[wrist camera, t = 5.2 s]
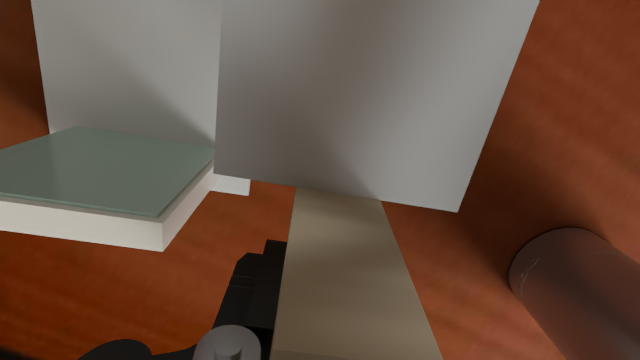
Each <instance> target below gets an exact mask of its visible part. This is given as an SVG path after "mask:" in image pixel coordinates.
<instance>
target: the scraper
mask: <svg viewBox="0 0 640 360" xmlns="http://www.w3.org/2000/svg"><path fill="white" fill-rule="evenodd" d="M539 1H540V0H223V1H222V20H221V38H220V57H219V75H218V94H217V112H216V131H215V149H214V168H213V174H218V175H225V176H231V177H237V178H244V179H250V180H256V181H263V182H269V183H275V184H281V185H288V186H294V187H296V192H295V198H294V204H293V210H292V216H291V222H290V229H289V235H288V241H287V248H286V255H285V261H284V268H283V274H282V281H281V288H280V294H279V301H278V307H277V314H276V320H275V327H274V333H273V339H272V345H271V351H270V357H269V360H443V358H442V355H441V353H440V350H439V348H438V345H437V343H436V340H435V338H434V335H433V333H432V330H431V328H430V325H429V323H428V320H427V318H426V315H425V312H424V310H423V307H422V305H421V302H420V300H419V297H418V295H417V292H416V290H415V287H414V285H413V282H412V280H411V277H410V274H409V272H408V269H407V267H406V264H405V262H404V259H403V257H402V254H401V252H400V249H399V247H398V244H397V242H396V239H395V236H394V234H393V231H392V229H391V226H390V224H389V221H388V219H387V216H386V214H385V211H384V209H383V206H382V204H381V201H380V200H382V201H388V202H395V203H401V204H407V205H414V206H420V207H426V208H432V209H439V210H445V211H451V212H458V210H459V207H460V204H461V202H462V199H463V197H464V194H465V192H466V189H467V186H468V184H469V181H470V179H471V176H472V173H473V171H474V168H475V166H476V163H477V161H478V158H479V155H480V153H481V150H482V148H483V145H484V143H485V140H486V137H487V135H488V132H489V130H490V127H491V124H492V122H493V119H494V117H495V114H496V112H497V109H498V106H499V104H500V101H501V99H502V96H503V93H504V91H505V88H506V86H507V83H508V81H509V78H510V75H511V73H512V70H513V68H514V65H515V63H516V60H517V57H518V55H519V52H520V50H521V47H522V44H523V42H524V39H525V37H526V34H527V32H528V29H529V26H530V24H531V21H532V19H533V16H534V13H535V11H536V8H537V6H538V3H539Z"/></svg>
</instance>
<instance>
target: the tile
mask: <svg viewBox="0 0 640 360" xmlns="http://www.w3.org/2000/svg"><path fill="white" fill-rule="evenodd" d="M214 149H215V148H214V147H208V146H201V145H195V144H189V143H182V142H176V141H170V140H163V139H157V138H151V137H144V136H138V135H132V134H125V133H119V132H113V131H106V130H100V129H94V128H87V127H81V126H74V127H71V128H67V129H64V130H61V131H58V132H55V133H52V134H49V135H45V136H42V137H39V138H36V139H33V140H30V141H26V142H23V143H20V144H17V145H14V146H11V147H7V148H4V149H1V150H0V230H4V231H11V232H19V233H26V234H34V235H41V236H49V237H56V238H63V239H71V240H78V241H86V242H93V243H101V244H108V245H116V246H123V247H131V248H138V249H146V250H153V251H160V252H163V251H164V250H165V248H166V247H167V246H168V244H169V243H170V242H171V240H172V239H173V238H174V237H175V235H176V234H177V233H178V231H179V230H180V229H181V227H182V226H183V225H184V223H185V222H186V221H187V219H188V218H189V217H190V216H191V214H192V213H193V212H194V210H195V209H196V208H197V206H198V205H199V204H200V202H201V201H202V200H203V199H204V197H205V196H206V195H207V193H208V192H209V191H210V189H211V188H212V187H213V185H214V184H215V183H216V182H217V180H218V179H219V178H220V176H221V175H218V174H213V168H214Z"/></svg>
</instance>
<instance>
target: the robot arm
mask: <svg viewBox="0 0 640 360" xmlns="http://www.w3.org/2000/svg"><path fill="white" fill-rule="evenodd" d="M286 248H287V242H283V241H276V240H269V239H267V241H266V245H265V248H264V252H263V255H262V254H255V253H247V254H245V255H244V256H243V257H242V258H241V259H240V260H239V261H237V264H236V266H235V269H234V272H233V275H232V277H231V280H230V282H229V286H228V288H227V290H226V293H225V296H224V298H223V301H222V304H221V306H220V309H219V312H218V314H217V317H216V320H215V323H214V325H213V327H212V329H211V330H210V331H209V332H207V333H206V334H205V335H204V336H203V337H202V338H201V339H200V340H199V342H198V343H197V344H195V345H194V346H192V347H189V348H187V349H184V350H180V351H176V352H170V353H164V354H158V355H152V353H151V351H150V349H149V348H148V347H147V346H146V345H145V344H143V343H142V342H140V341H137V340H131V339H121V340H114V341H110V342H107V343H104V344H102V345H100V346H98V347H96V348H94V349H92V350H91V351H89V352H88V353H86V354H85V355H83V356H82V357H80V358H79V359H77V360H269V357H270V351H271V345H272V339H273V333H274V327H275V320H276V314H277V307H278V301H279V294H280V288H281V281H282V274H283V268H284V261H285V255H286ZM509 284H510V287H511V289H512V291H513V293H514V294H515V296H516V297H517V298H518V299H519V301H520V302H521V303H522V304H523V306H524V307H525V308H526V309H527V311H528V312H529V313H530V314H531V315H532V317H533V318H534V319H535V320H536V322H537V323H538V324H539V326H540V327H541V328H542V329H543V331H544V332H545V333H546V334H547V336H548V337H549V338H550V339H551V341H552V342H553V343H554V344H555V346H556V347H557V348H558V349H559V351H560V352H561V353H562V354H563V356H564V357H565V358H566V359H567V360H640V264H639V263H637V262H636V261H635V260H633V259H632V258H630V257H629V256H627V255H626V254H624V253H623V252H621V251H620V250H618V249H617V248H615V247H614V246H612V245H611V244H609V243H608V242H606V241H605V240H603V239H602V238H600V237H599V236H597V235H596V234H594V233H592V232H590V231H588V230H585V229H580V228H561V229H556V230H552V231H549V232H547V233H544V234H542V235H540V236H538V237H537V238H535V239H533V240H532V241H530V242H529V243H528V244H527V245H525V246H524V247H523V248H522V249H521V251H520V252H519V253H518V254H517V255H516V257H515V259H514V260H513V262H512V264H511V267H510V270H509Z"/></svg>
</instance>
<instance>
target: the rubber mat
mask: <svg viewBox="0 0 640 360" xmlns="http://www.w3.org/2000/svg"><path fill="white" fill-rule="evenodd" d="M222 1H223V0H31V5H32V12H33V19H34V26H35V33H36V40H37V47H38V54H39V61H40V68H41V75H42V82H43V89H44V96H45V103H46V110H47V117H48V124H49V131H50V134H52V133H55V132H58V131H61V130H64V129H67V128H71V127H74V126H81V127H87V128H94V129H100V130H106V131H113V132H119V133H125V134H132V135H138V136H144V137H151V138H157V139H163V140H170V141H176V142H182V143H189V144H195V145H201V146H208V147H214V148H215V131H216V112H217V94H218V75H219V57H220V38H221V20H222ZM249 189H250V179H244V178H237V177H231V176H225V175H221V176H220V178H219V179H218V180H217V182H216V183H215V184H214V185H213V187H212V188H211V189H210V190H212V191H219V192H225V193H232V194H239V195H246V196H248V195H249Z"/></svg>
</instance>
